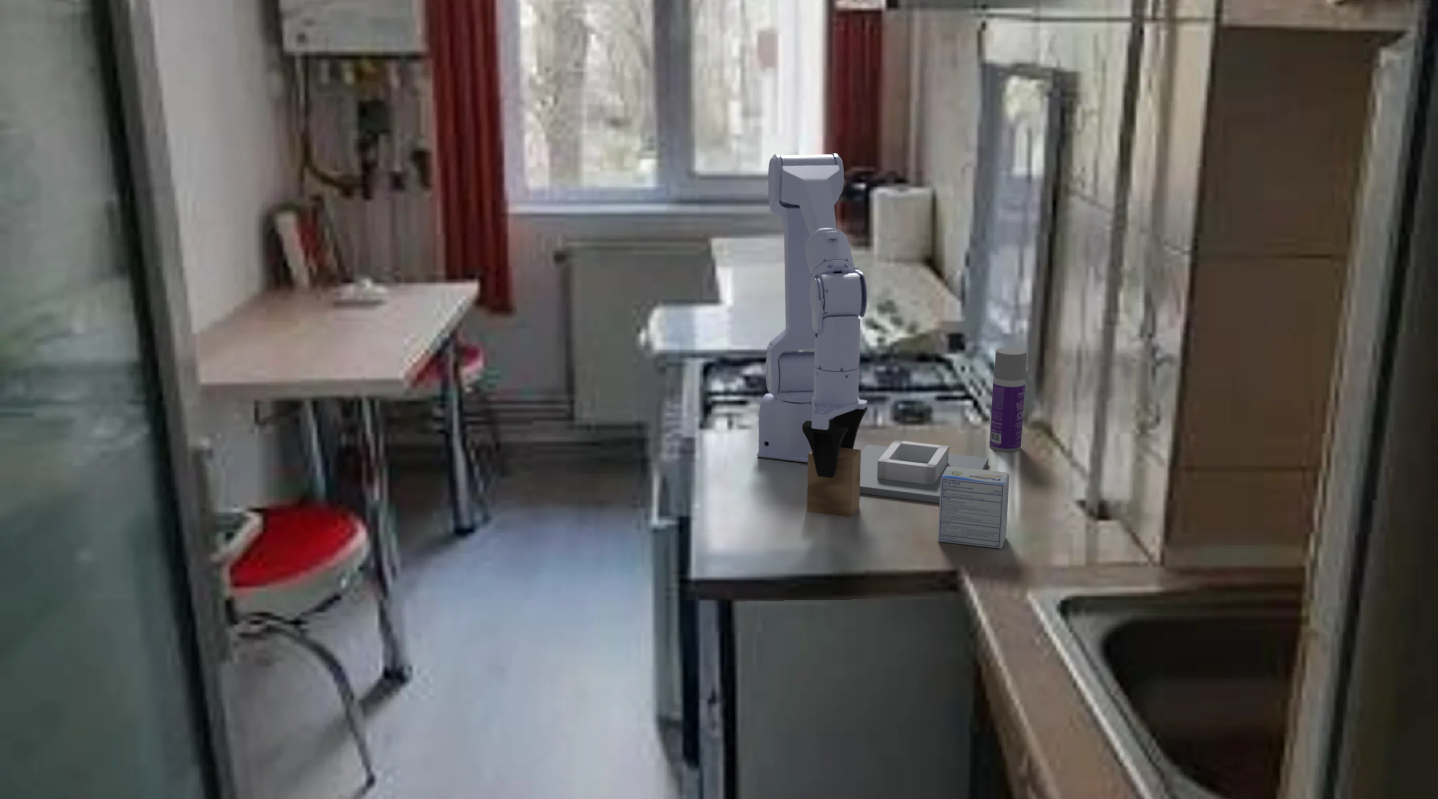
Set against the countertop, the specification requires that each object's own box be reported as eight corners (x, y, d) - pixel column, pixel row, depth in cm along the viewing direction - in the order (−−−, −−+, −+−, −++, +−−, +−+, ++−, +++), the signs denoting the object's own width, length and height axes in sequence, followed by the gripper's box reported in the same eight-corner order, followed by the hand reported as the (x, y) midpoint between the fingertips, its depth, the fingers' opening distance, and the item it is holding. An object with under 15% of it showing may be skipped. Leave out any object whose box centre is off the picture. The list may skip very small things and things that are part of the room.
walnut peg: (806, 511, 167) (807, 453, 164) (815, 501, 170) (817, 444, 168) (851, 517, 165) (852, 459, 162) (859, 507, 168) (861, 449, 166)
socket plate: (833, 489, 174) (834, 465, 173) (867, 450, 190) (868, 428, 189) (964, 506, 168) (965, 481, 167) (988, 464, 184) (989, 441, 183)
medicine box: (1006, 537, 158) (1010, 471, 156) (1002, 550, 154) (1006, 483, 152) (943, 529, 160) (946, 464, 158) (937, 542, 156) (940, 476, 154)
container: (1021, 453, 189) (1027, 355, 185) (989, 451, 190) (995, 354, 186) (1020, 443, 194) (1026, 347, 189) (989, 441, 195) (994, 346, 190)
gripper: (851, 383, 154) (849, 488, 158) (881, 356, 167) (878, 454, 171) (796, 377, 157) (794, 481, 160) (829, 351, 170) (827, 448, 173)
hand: (834, 467), depth 166 cm, fingers open, 7 cm apart
